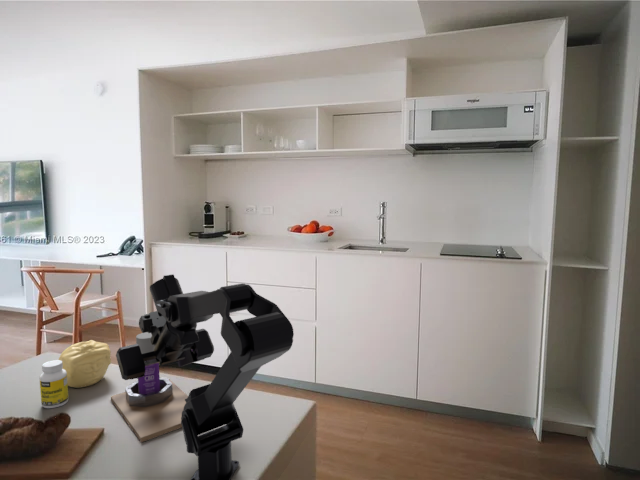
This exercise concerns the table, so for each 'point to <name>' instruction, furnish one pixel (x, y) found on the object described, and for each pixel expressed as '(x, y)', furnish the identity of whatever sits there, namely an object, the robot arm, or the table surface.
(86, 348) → the sculpture
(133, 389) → the iron collar
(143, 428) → the wooden board
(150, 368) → the container
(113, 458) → the table surface
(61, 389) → the supplement bottle
